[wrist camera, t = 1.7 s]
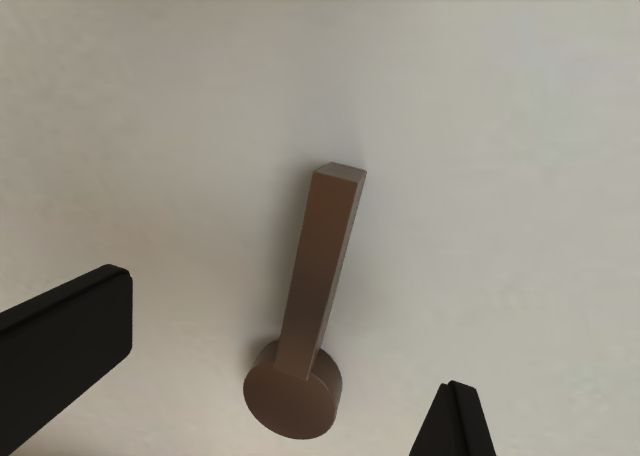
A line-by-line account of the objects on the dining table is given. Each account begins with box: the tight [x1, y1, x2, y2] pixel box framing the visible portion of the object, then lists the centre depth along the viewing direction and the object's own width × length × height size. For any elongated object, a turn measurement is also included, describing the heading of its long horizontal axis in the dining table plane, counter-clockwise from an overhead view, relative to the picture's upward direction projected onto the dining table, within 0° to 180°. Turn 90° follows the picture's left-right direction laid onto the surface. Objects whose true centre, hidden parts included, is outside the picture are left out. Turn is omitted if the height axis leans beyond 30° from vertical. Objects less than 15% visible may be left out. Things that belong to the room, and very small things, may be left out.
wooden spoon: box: [243, 162, 367, 440], centre depth 15 cm, size 14×5×3 cm, turn 168°
